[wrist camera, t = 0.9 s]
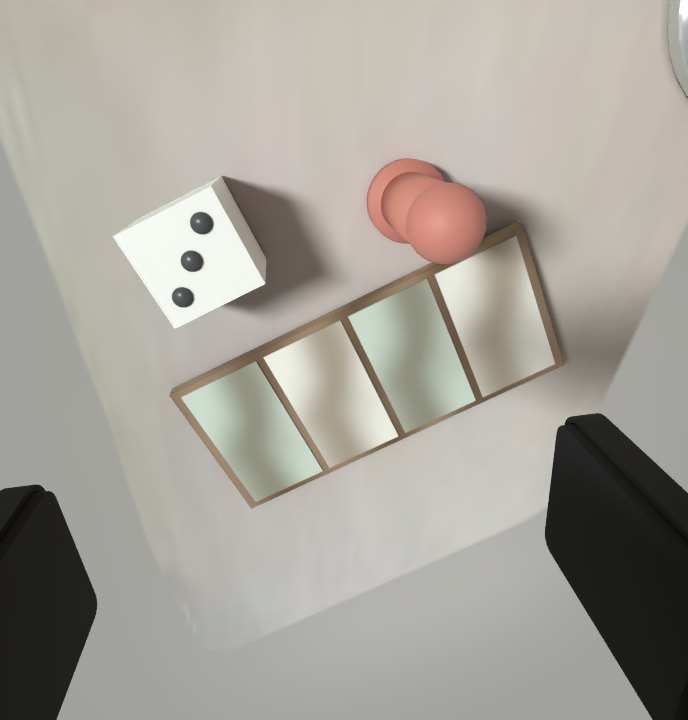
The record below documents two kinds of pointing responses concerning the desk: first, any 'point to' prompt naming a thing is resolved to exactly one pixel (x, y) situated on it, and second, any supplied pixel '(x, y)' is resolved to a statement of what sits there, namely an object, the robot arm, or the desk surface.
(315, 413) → the board
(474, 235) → the pawn
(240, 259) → the die
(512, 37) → the desk surface
